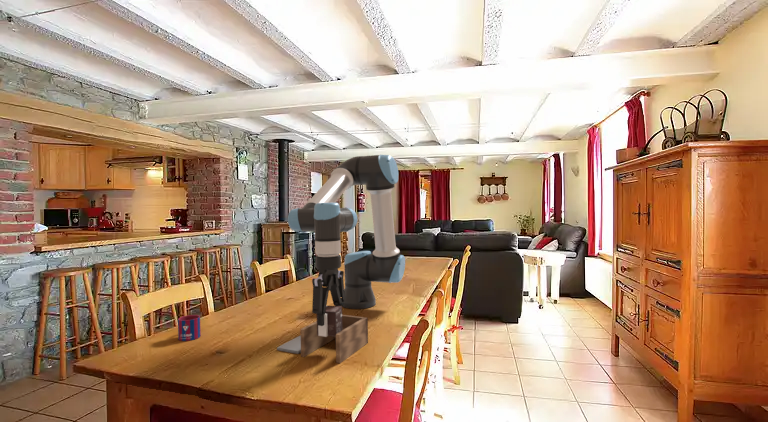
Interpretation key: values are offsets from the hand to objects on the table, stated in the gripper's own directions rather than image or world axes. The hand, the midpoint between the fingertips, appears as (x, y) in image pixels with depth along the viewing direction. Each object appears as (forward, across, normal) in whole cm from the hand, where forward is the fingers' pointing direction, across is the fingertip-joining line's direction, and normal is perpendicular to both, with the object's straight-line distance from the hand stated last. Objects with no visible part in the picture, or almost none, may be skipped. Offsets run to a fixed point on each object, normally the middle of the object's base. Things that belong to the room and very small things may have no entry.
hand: (330, 331), depth 114 cm
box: (+1, 0, 0) cm, 1 cm away
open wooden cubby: (+6, -3, 0) cm, 7 cm away
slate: (+6, -1, -12) cm, 14 cm away
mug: (+7, +6, -52) cm, 53 cm away
